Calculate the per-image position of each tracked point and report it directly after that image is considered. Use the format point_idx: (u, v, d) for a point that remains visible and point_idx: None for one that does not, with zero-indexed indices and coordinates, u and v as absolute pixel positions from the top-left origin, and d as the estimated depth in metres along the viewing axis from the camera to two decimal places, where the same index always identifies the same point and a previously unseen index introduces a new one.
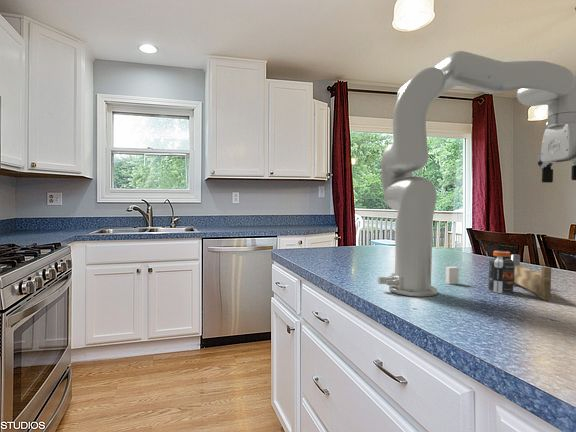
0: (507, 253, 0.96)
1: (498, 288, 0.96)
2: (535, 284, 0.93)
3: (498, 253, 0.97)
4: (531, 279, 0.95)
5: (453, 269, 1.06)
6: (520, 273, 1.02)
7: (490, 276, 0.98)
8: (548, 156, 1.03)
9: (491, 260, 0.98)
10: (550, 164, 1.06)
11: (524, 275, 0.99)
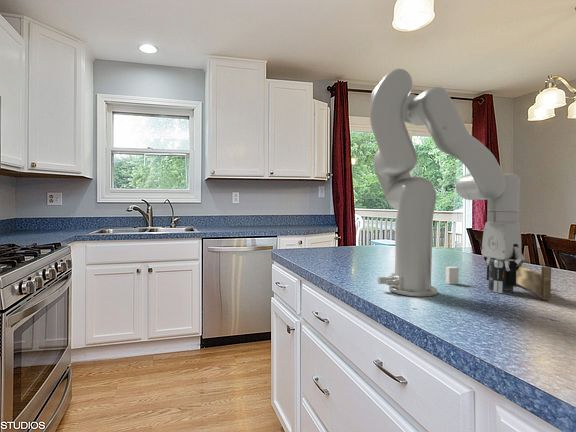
0: None
1: (498, 288, 0.96)
2: (535, 284, 0.93)
3: None
4: (531, 279, 0.95)
5: (453, 269, 1.06)
6: (520, 273, 1.02)
7: (490, 276, 0.98)
8: (487, 252, 0.99)
9: (491, 260, 0.98)
10: None
11: (524, 275, 0.99)
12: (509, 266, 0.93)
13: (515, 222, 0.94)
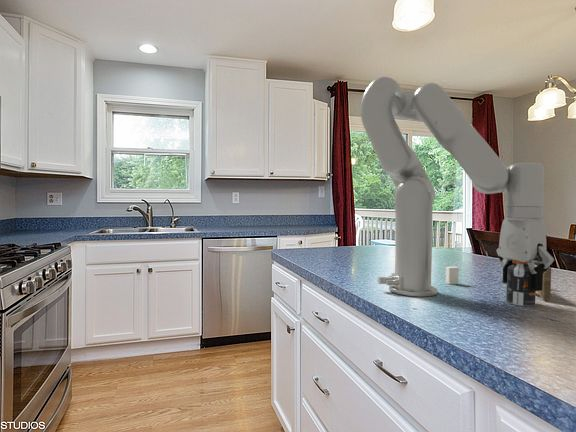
0: None
1: (518, 300, 0.84)
2: None
3: None
4: None
5: (453, 269, 1.06)
6: None
7: (509, 286, 0.86)
8: (506, 253, 0.87)
9: (509, 268, 0.86)
10: None
11: None
12: (534, 268, 0.80)
13: (539, 218, 0.82)
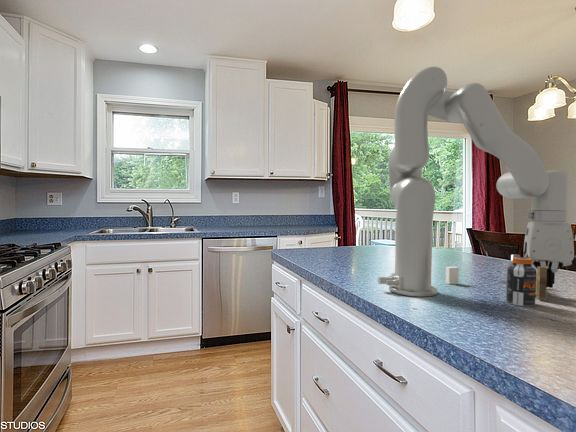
0: (529, 260, 0.84)
1: (518, 300, 0.84)
2: None
3: (518, 260, 0.84)
4: None
5: (453, 269, 1.06)
6: None
7: (509, 286, 0.86)
8: (543, 255, 0.91)
9: (509, 268, 0.86)
10: None
11: None
12: None
13: None
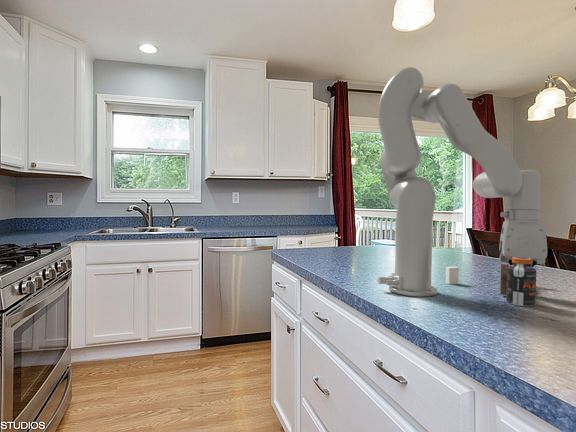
0: (529, 260, 0.84)
1: (518, 300, 0.84)
2: None
3: (518, 260, 0.84)
4: None
5: (453, 269, 1.06)
6: None
7: (509, 286, 0.86)
8: (517, 254, 0.92)
9: (509, 268, 0.86)
10: None
11: None
12: None
13: None
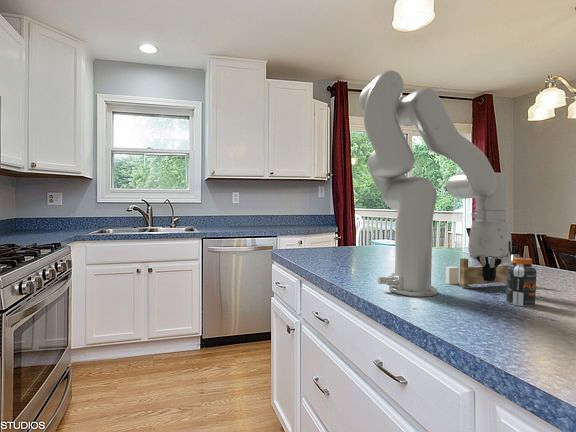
0: (529, 260, 0.84)
1: (518, 300, 0.84)
2: None
3: (518, 260, 0.84)
4: None
5: (453, 269, 1.06)
6: None
7: (509, 286, 0.86)
8: (478, 250, 1.00)
9: (509, 268, 0.86)
10: (485, 259, 1.02)
11: None
12: (494, 264, 0.98)
13: None
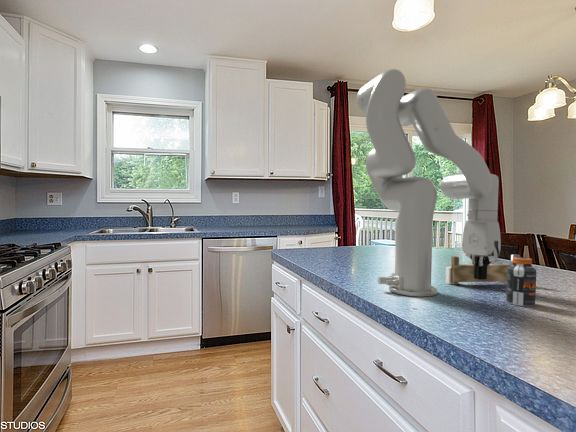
0: (528, 260, 0.84)
1: (518, 300, 0.84)
2: None
3: (518, 260, 0.84)
4: None
5: None
6: None
7: (509, 286, 0.86)
8: (468, 249, 1.04)
9: (509, 268, 0.86)
10: (479, 258, 1.04)
11: None
12: (482, 262, 1.01)
13: (495, 220, 0.99)
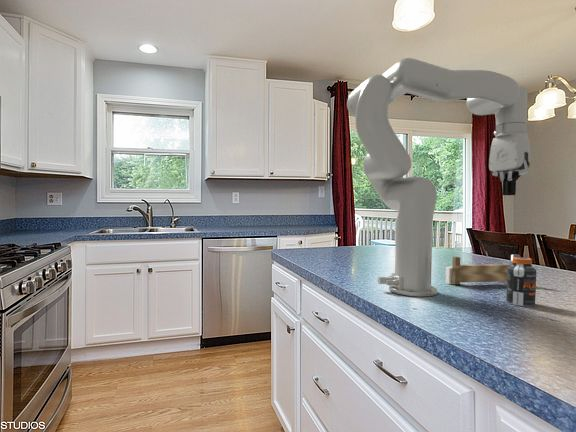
0: (529, 260, 0.84)
1: (518, 300, 0.84)
2: None
3: (518, 260, 0.84)
4: None
5: None
6: None
7: (509, 286, 0.86)
8: (496, 166, 1.03)
9: (509, 268, 0.86)
10: (507, 175, 1.03)
11: None
12: (512, 177, 1.00)
13: (524, 132, 0.98)
